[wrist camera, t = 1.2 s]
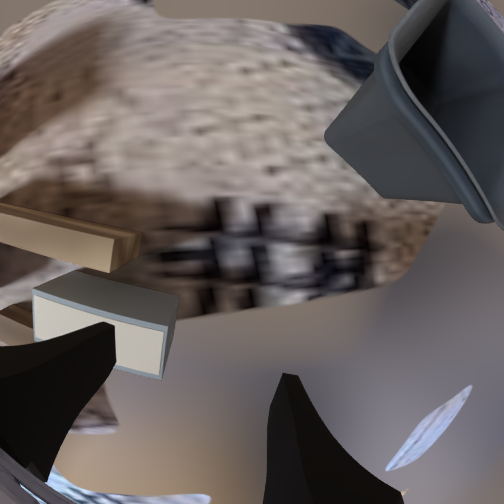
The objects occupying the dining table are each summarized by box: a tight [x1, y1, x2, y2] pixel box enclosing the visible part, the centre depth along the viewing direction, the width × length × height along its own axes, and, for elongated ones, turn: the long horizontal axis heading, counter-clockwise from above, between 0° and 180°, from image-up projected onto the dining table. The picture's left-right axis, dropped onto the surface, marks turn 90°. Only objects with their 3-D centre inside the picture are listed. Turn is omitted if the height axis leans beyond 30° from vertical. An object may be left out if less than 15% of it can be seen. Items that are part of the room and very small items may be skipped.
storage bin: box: [324, 0, 504, 230], centre depth 17 cm, size 21×16×14 cm
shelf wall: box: [0, 203, 142, 273], centre depth 17 cm, size 2×18×7 cm, turn 78°
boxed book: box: [32, 270, 180, 380], centre depth 19 cm, size 4×10×7 cm, turn 77°
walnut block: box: [0, 304, 37, 346], centre depth 19 cm, size 3×6×3 cm, turn 77°
